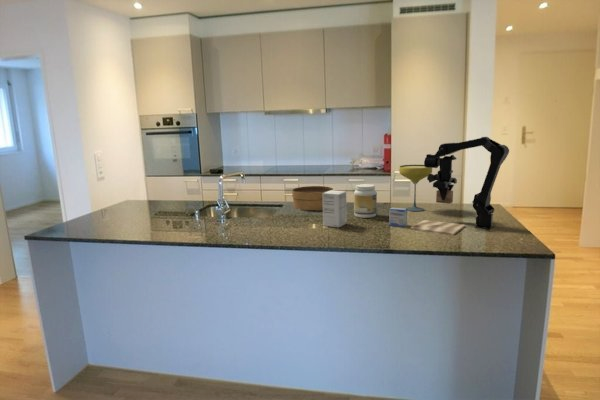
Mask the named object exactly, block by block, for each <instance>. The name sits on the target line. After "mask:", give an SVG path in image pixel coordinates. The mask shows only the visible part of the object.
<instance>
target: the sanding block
mask: <svg viewBox="0 0 600 400" xmlns="http://www.w3.org/2000/svg"><path fill="white" fill-rule="evenodd" d="M435 193H436V196H435V197H436V198H435V201H436V203H438V204H447V205H448V204H450V205H451V204H453V202H454V201H453V200H454V190H448V192H447V195H446V197H445V200H442V198H441V195H440V191H439V189H437V190H436V192H435Z"/></svg>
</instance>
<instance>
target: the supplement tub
mask: <svg viewBox="0 0 600 400" xmlns="http://www.w3.org/2000/svg"><path fill="white" fill-rule="evenodd" d="M377 193H378V192H377V190H376V184H372V183H362V184H356V185H355V190H354V192H353V213H354V217H356V218H362V219H364V218H365V219H366V218H374V217H376V216H377V207H378V206H377Z"/></svg>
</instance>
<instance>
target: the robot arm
mask: <svg viewBox="0 0 600 400" xmlns="http://www.w3.org/2000/svg"><path fill="white" fill-rule="evenodd" d="M476 147H482V148H483V149H484V150H486V151H487V152H489V153H490V157H489V158H490V164H489V167H488V170H487V173H486V175H485V178H484V181H483V184H482V186H481V189H480V192H479V193H475V194H474V197H473V200H472V202H471V203H472V208H473V210H474V211H475V213H476V215H477V216H476V217H475V228H483V229H488V230H490V229H491V228H492V227H494V224H493V222H494V221H493V218H494V214H493V213H494V212H495V208H494V207H493V205H491V199H492V196H491V194H492V190H493V187H494V185H495V183H496V181H497V180H496V179H497V177H498V174H499V172H500V171H499V170H500V168H501V165H502V164H503V163H504V161H506V159H507V157H508V156H509V153H510V148H509V147H508V146H507V145H505V144H500V143H499V142H497V141H495V140H493V139H491V138H490V137H488V136H481V137H479V138H475V139H469V140H465V141H461V142H446V143H441V144H440V145H439V147H438V150H437V152H435V154H431V153H429V154H427V153H426V157H425V158H424V160H423V161H424V162H423V165H424V166H425V167H426V168H432V169H438V167H439V170H437V173H436V174H433V173H431V174H429V175H428V176H427V177H426V178H427V179H426V180H428V182H429V183H432V182H433V183H432V188H436V189H437V190H439V191H440V195H441V198H442V200H445V197H446V195H447V192H448V190H451V191H453V189H454V186H455V184H457V182H458V179H457V177H452V175H453V174H452V173H454V170H452V169H453V161H454V160H455V161H456V160H457V157H456V156H455V155H454V153H456V152H459V151H461V150H466V149H467V150H468V149H472V148H476Z"/></svg>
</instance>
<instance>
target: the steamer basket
mask: <svg viewBox="0 0 600 400" xmlns="http://www.w3.org/2000/svg"><path fill="white" fill-rule="evenodd" d="M330 190H334V188H332V187H330V186H324V185H323V186H322V185H321V186H320V185H312V186H311V185H310V186H309V185H307V186H299V187H295V188H293V189H291V193H292V202H293V203H292V204H293V209H295V208H296V209H295V210H298V209H300V210H299V211H305V210H316V211H323V200H322V193H325V192H327V191H330Z"/></svg>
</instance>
